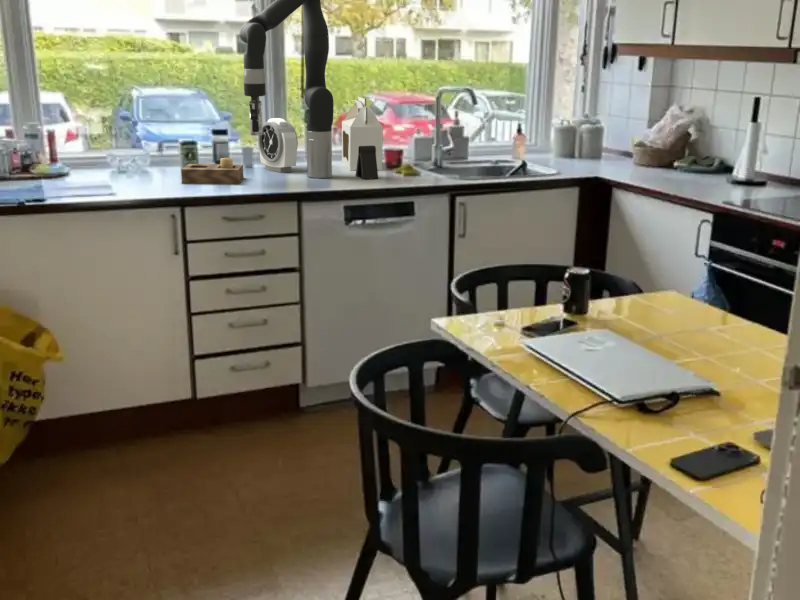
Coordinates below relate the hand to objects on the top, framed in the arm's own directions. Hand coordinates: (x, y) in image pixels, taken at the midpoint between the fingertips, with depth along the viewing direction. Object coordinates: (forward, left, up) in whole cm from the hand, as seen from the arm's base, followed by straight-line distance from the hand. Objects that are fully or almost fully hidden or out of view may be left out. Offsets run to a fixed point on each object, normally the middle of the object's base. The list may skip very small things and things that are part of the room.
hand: (256, 130), depth 308 cm
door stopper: (-40, -12, -18) cm, 46 cm away
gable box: (-38, -41, -18) cm, 59 cm away
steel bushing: (0, 0, -1) cm, 1 cm away
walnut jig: (+16, 0, -18) cm, 24 cm away
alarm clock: (-5, -28, -18) cm, 34 cm away
